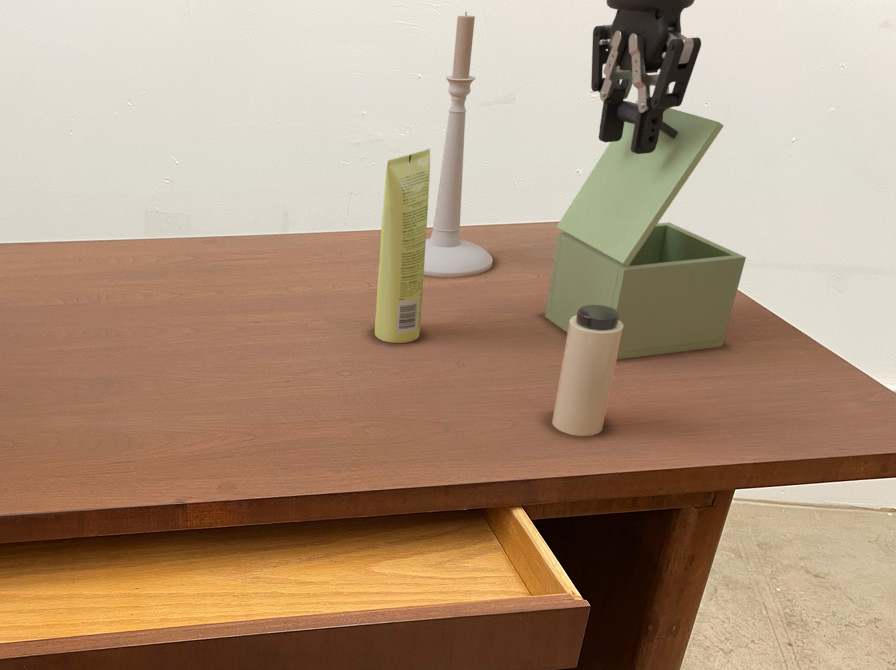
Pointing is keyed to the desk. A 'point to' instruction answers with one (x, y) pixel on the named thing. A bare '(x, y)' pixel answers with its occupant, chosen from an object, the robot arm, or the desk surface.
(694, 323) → the chest
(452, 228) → the candlestick
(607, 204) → the lid
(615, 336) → the spice bottle
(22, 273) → the desk surface
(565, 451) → the desk surface
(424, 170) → the tube
